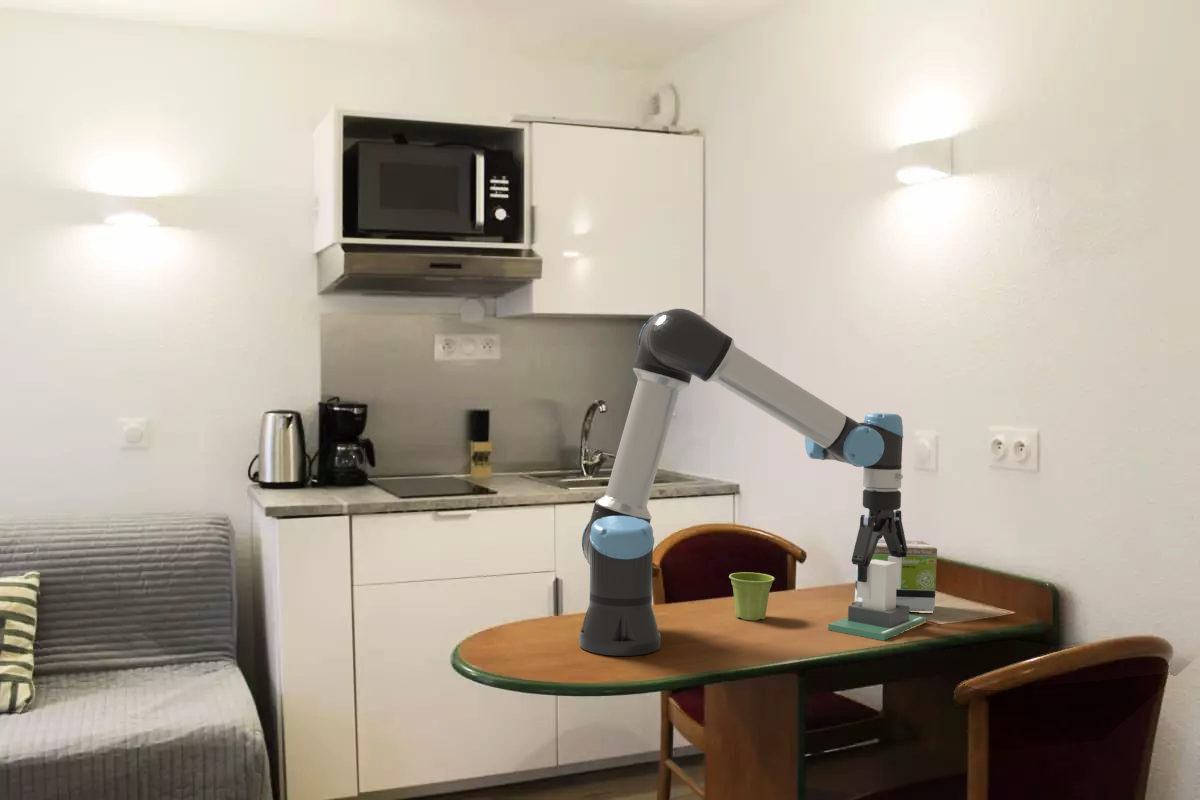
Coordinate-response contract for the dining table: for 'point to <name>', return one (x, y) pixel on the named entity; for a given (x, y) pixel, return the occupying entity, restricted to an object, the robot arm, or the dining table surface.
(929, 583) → the tea box
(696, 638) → the dining table surface
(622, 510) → the robot arm
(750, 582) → the plant pot
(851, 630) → the board
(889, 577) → the plug
